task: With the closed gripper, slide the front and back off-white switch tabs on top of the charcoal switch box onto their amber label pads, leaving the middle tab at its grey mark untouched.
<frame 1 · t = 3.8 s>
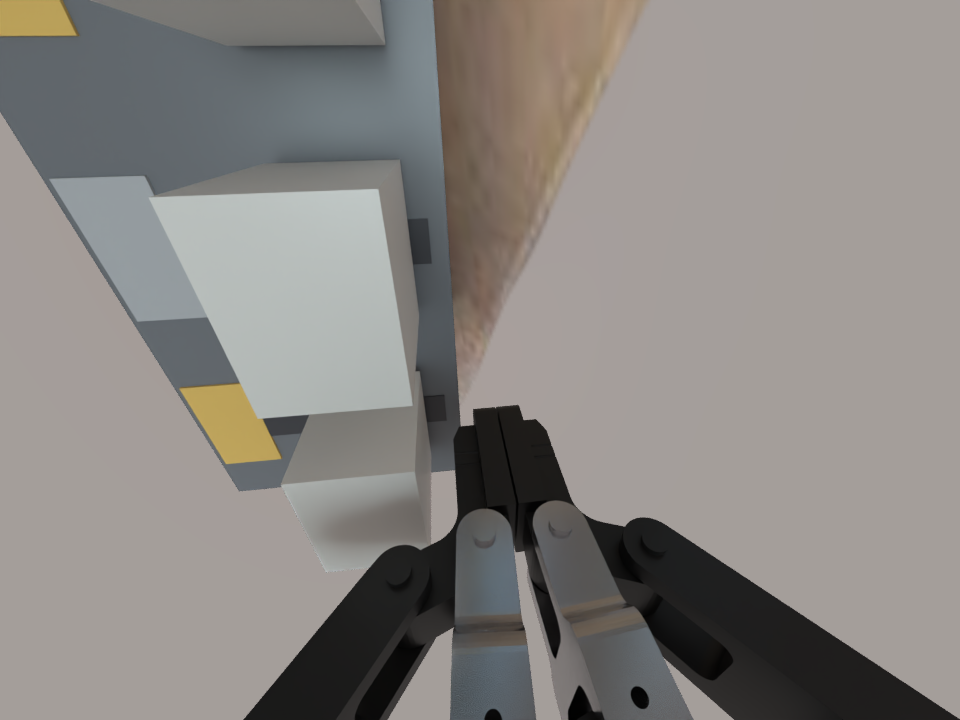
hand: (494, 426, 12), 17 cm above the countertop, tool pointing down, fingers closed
switch box: (367, 170, 23), on the countertop
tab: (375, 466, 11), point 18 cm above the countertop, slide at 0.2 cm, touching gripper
tab middle: (334, 278, 8), point 18 cm above the countertop, slide at 0.0 cm
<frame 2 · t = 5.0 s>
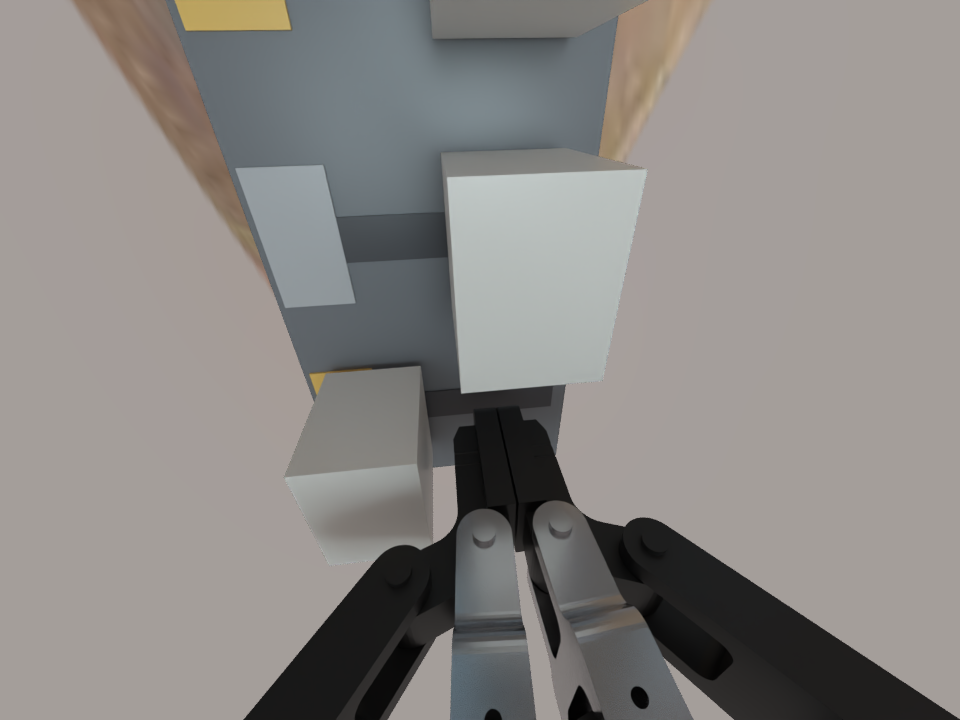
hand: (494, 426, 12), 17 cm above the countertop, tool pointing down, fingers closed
switch box: (429, 165, 23), on the countertop
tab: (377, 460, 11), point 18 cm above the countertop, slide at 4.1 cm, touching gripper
tab middle: (517, 261, 8), point 18 cm above the countertop, slide at 0.0 cm
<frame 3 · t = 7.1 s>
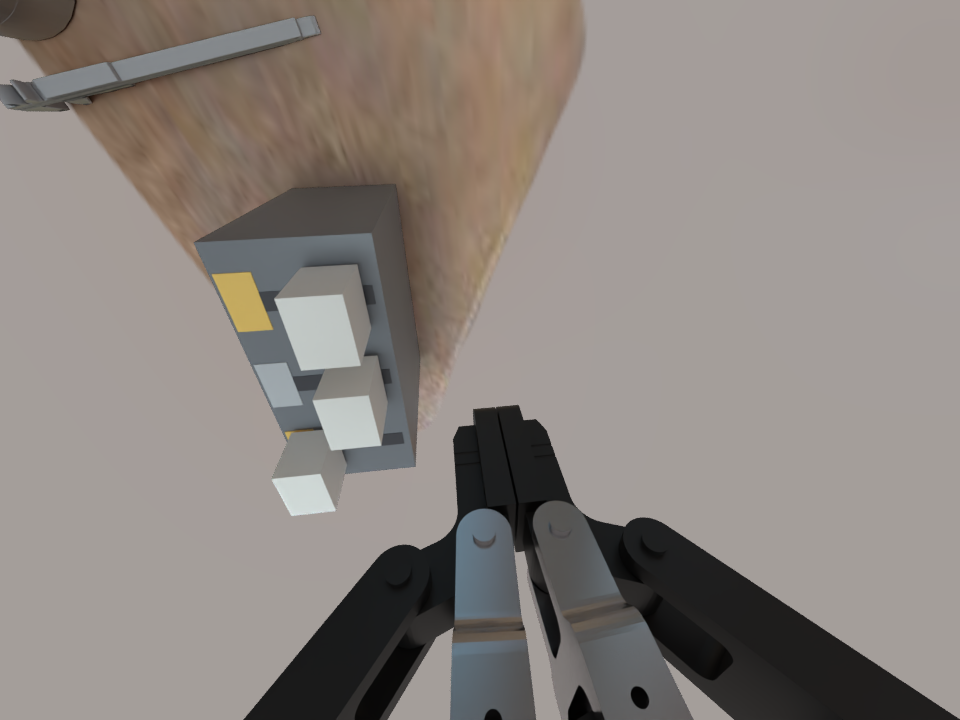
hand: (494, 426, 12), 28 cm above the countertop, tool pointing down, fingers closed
switch box: (365, 286, 37), on the countertop
caliper: (189, 65, 27), on the countertop
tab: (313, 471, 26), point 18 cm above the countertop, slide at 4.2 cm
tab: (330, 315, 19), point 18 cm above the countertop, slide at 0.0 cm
tab middle: (354, 401, 23), point 18 cm above the countertop, slide at 0.0 cm
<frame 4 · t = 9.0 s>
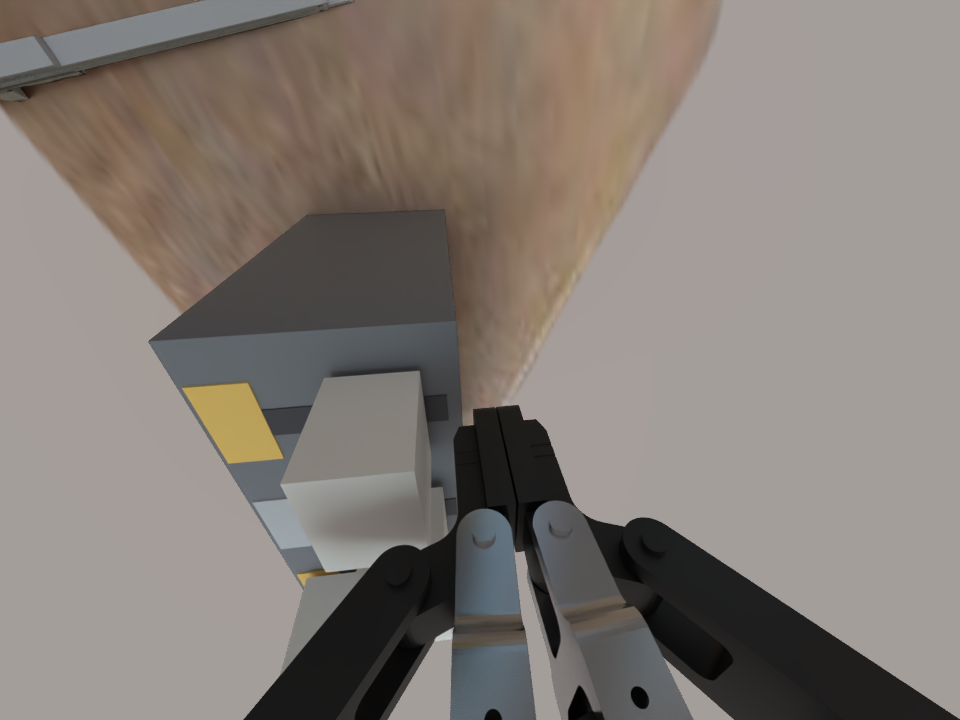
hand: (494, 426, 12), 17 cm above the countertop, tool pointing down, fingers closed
switch box: (397, 335, 29), on the countertop
caliper: (166, 46, 19), on the countertop
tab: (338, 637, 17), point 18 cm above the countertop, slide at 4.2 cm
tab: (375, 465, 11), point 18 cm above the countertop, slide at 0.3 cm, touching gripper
tab middle: (409, 564, 14), point 18 cm above the countertop, slide at 0.0 cm
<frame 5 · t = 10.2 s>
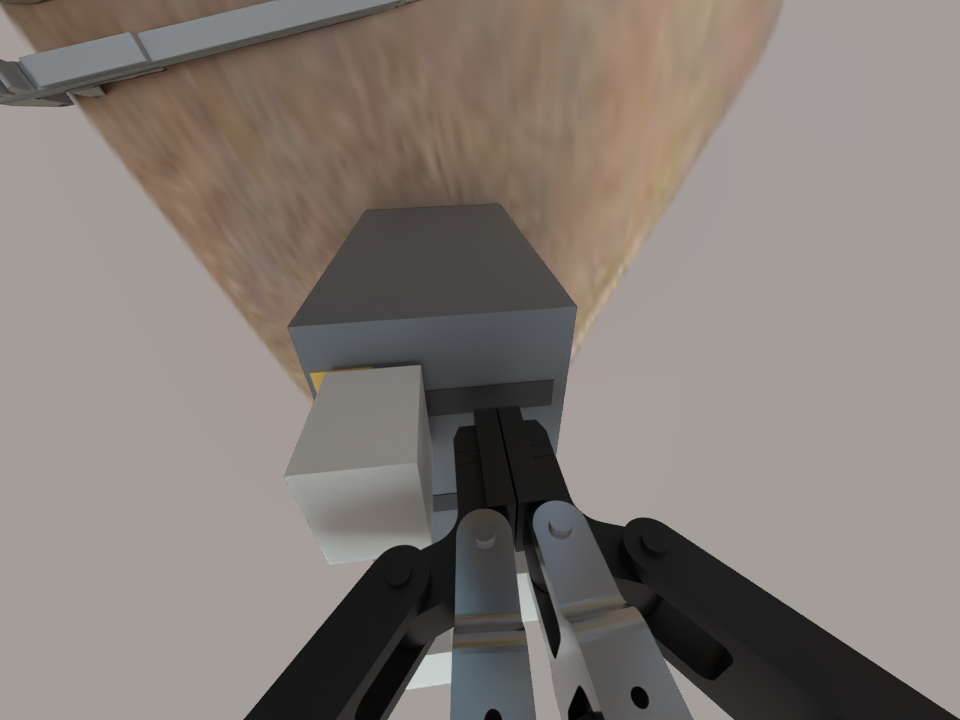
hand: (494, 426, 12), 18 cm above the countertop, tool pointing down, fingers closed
switch box: (444, 329, 30), on the countertop
caliper: (242, 42, 19), on the countertop
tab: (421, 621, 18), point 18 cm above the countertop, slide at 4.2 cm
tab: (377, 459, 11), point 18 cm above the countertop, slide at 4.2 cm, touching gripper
tab middle: (507, 546, 15), point 18 cm above the countertop, slide at 0.0 cm
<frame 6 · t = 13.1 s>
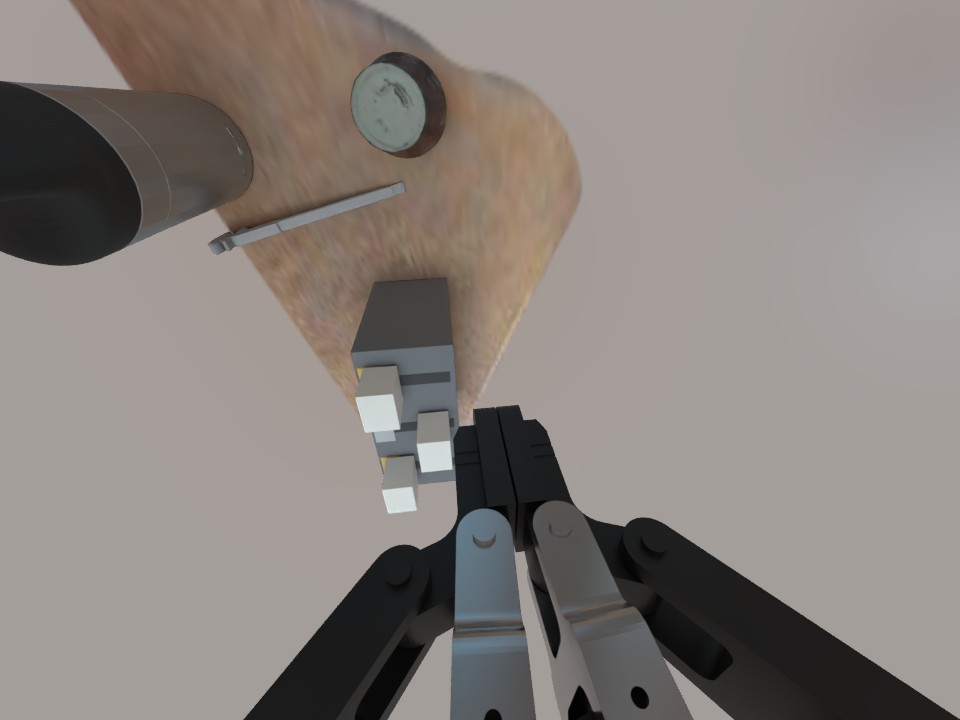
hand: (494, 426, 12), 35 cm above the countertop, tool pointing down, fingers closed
switch box: (419, 344, 51), on the countertop
caliper: (316, 211, 40), on the countertop
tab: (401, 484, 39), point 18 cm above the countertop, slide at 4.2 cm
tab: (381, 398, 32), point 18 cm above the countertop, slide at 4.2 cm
sauce bottle: (413, 109, 36), on the countertop
tab middle: (435, 441, 36), point 18 cm above the countertop, slide at 0.0 cm
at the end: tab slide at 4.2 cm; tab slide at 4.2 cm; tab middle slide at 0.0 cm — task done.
